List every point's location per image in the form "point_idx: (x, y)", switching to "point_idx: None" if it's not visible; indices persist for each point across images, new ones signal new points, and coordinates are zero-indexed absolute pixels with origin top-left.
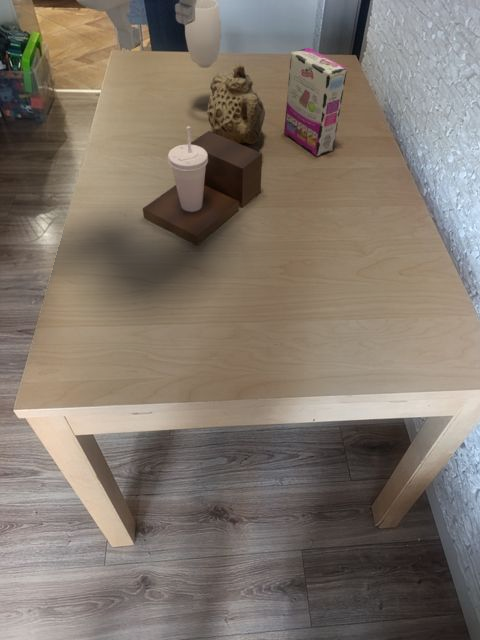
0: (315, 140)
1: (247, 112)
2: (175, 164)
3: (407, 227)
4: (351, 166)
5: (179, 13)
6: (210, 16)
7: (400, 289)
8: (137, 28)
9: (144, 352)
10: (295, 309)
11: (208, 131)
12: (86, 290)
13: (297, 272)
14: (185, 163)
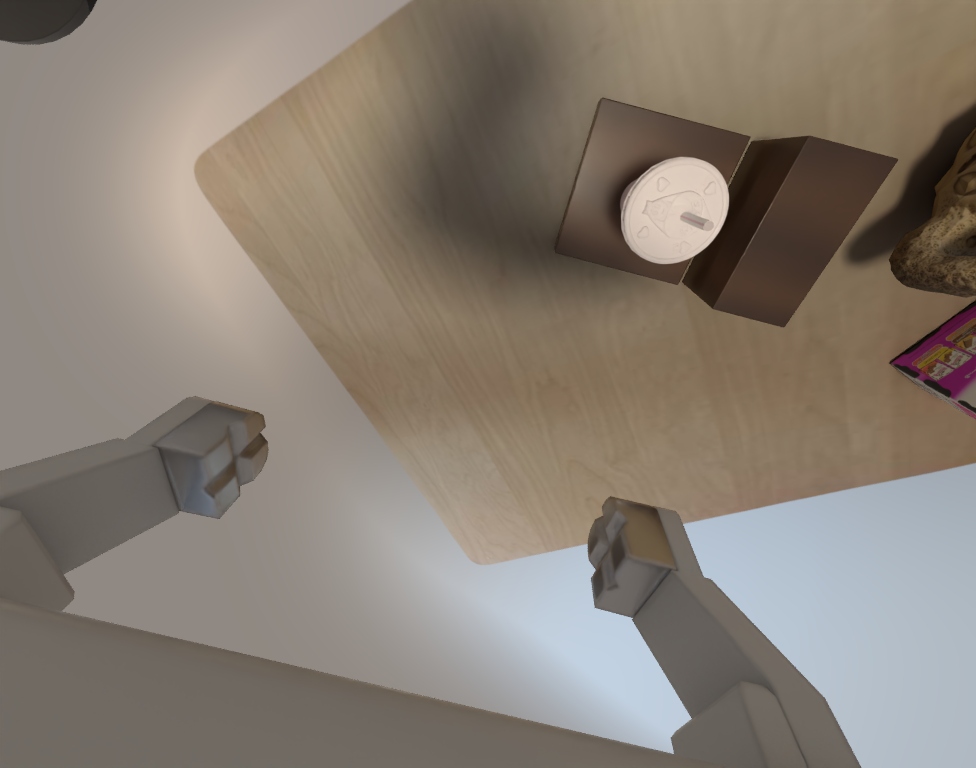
0: (926, 369)
1: (963, 261)
2: (629, 201)
3: (684, 501)
4: (854, 421)
5: (613, 540)
6: None
7: (561, 500)
8: (216, 511)
9: (334, 273)
10: (484, 412)
11: (894, 160)
12: (377, 115)
13: (548, 400)
14: (635, 226)
